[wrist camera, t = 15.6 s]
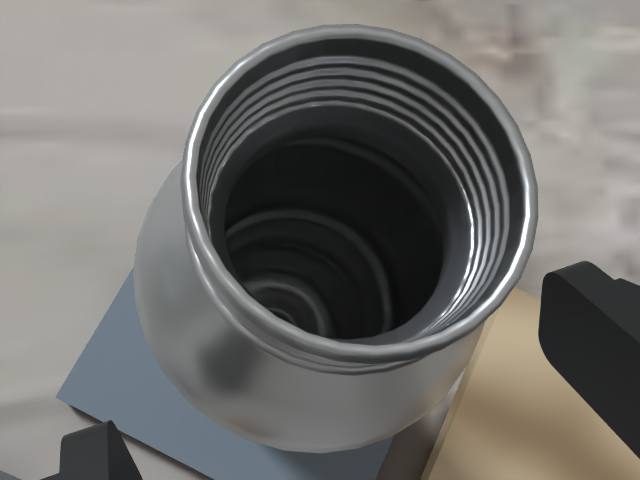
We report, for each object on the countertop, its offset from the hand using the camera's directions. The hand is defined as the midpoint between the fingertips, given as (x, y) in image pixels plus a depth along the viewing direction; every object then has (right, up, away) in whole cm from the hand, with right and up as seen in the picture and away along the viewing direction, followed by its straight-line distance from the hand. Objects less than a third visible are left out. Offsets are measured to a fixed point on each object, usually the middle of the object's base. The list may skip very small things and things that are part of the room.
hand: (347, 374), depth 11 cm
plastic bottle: (-3, -2, +15) cm, 15 cm away
